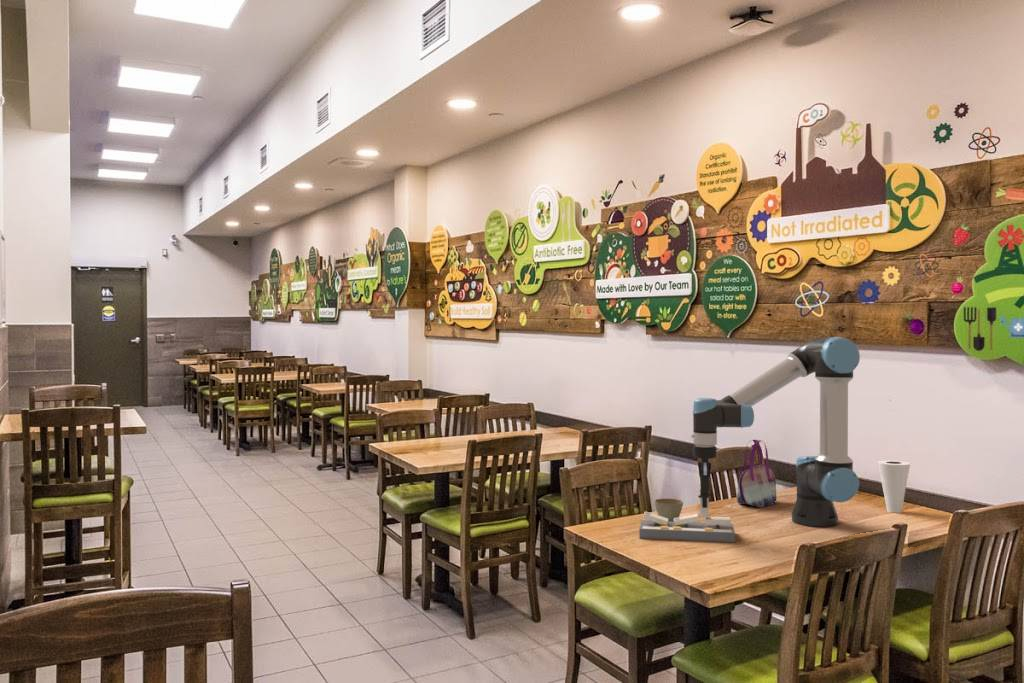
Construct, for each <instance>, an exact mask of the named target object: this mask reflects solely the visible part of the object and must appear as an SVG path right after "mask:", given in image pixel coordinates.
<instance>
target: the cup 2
mask: <svg viewBox="0 0 1024 683" xmlns="http://www.w3.org/2000/svg"><path fill="white" fill-rule="evenodd" d="M877 465H878V470H879V476H880V481H881V486H882V491H883V495H884V502H885V506H886V511H887V512H888V513H894V514H901V513H903V512H902V511H903V505H904V500H905V495H906V489H907V483H908V479H909V473H910V467H911V466H910V465H911V462H908V461H903V460H895V459H894V460H888V459H887V460H878V461H877Z"/></svg>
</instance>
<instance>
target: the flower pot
mask: <svg viewBox="0 0 1024 683" xmlns="http://www.w3.org/2000/svg"><path fill="white" fill-rule="evenodd" d="M653 502H654V506H655V510H656V512H657V515H659V516H662V517H665V518H668V521H673V522H674V518H677V517H680V515H681V513H682V510H683V505H684V501H683V500H681V499H677V498H664V497H663V498H657V499H655V500H653Z"/></svg>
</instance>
